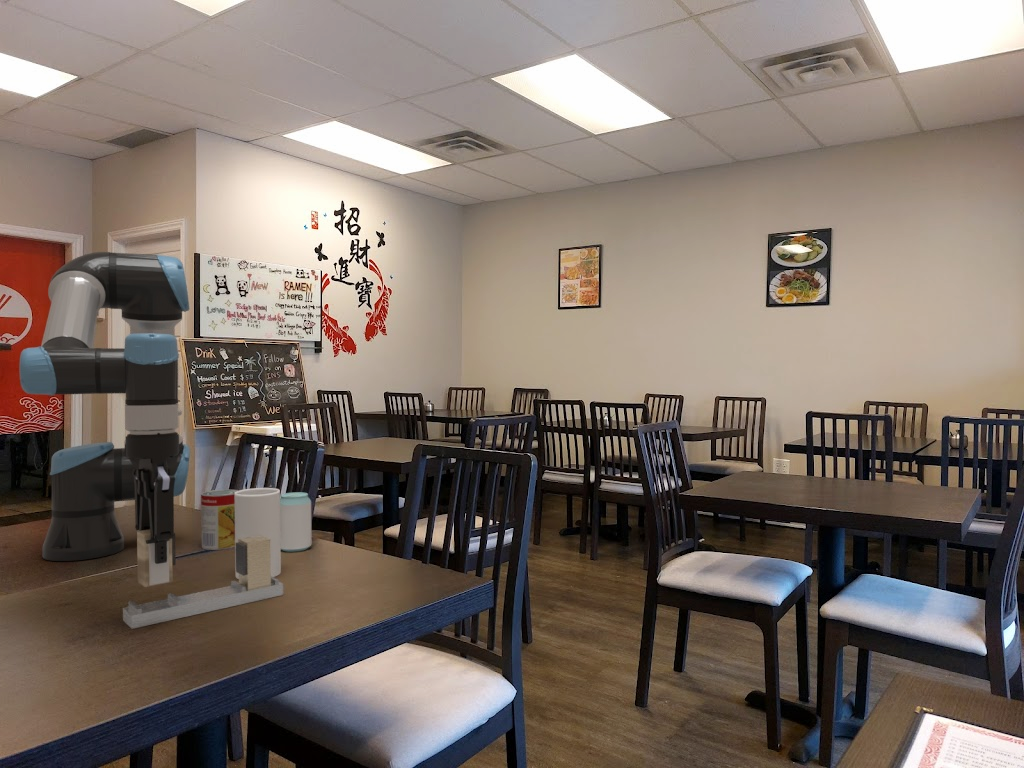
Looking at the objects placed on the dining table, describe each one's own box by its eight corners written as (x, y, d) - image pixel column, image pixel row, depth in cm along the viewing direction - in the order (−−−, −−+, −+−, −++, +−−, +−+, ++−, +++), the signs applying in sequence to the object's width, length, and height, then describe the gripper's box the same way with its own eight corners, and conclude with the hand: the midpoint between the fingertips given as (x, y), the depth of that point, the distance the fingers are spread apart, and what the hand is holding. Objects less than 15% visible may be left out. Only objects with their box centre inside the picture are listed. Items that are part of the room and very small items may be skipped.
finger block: (145, 587, 110) (144, 535, 110) (137, 581, 113) (137, 531, 113) (176, 581, 113) (175, 530, 113) (168, 575, 116) (168, 526, 116)
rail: (123, 620, 112) (122, 556, 112) (271, 588, 128) (270, 533, 128) (131, 628, 108) (130, 563, 108) (283, 594, 124) (282, 537, 124)
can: (306, 552, 153) (305, 497, 153) (273, 552, 153) (272, 497, 153) (315, 544, 160) (314, 491, 160) (284, 544, 160) (283, 491, 160)
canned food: (246, 542, 163) (246, 490, 163) (225, 550, 155) (224, 495, 155) (216, 540, 165) (215, 488, 164) (193, 549, 157) (193, 494, 157)
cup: (266, 581, 132) (265, 495, 132) (226, 579, 134) (225, 494, 134) (288, 569, 140) (287, 488, 140) (250, 567, 142) (250, 487, 142)
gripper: (195, 433, 108) (198, 586, 109) (161, 427, 121) (163, 565, 121) (142, 436, 103) (144, 597, 104) (112, 430, 116) (114, 573, 116)
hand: (154, 579), depth 112 cm, fingers closed on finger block, 4 cm apart
